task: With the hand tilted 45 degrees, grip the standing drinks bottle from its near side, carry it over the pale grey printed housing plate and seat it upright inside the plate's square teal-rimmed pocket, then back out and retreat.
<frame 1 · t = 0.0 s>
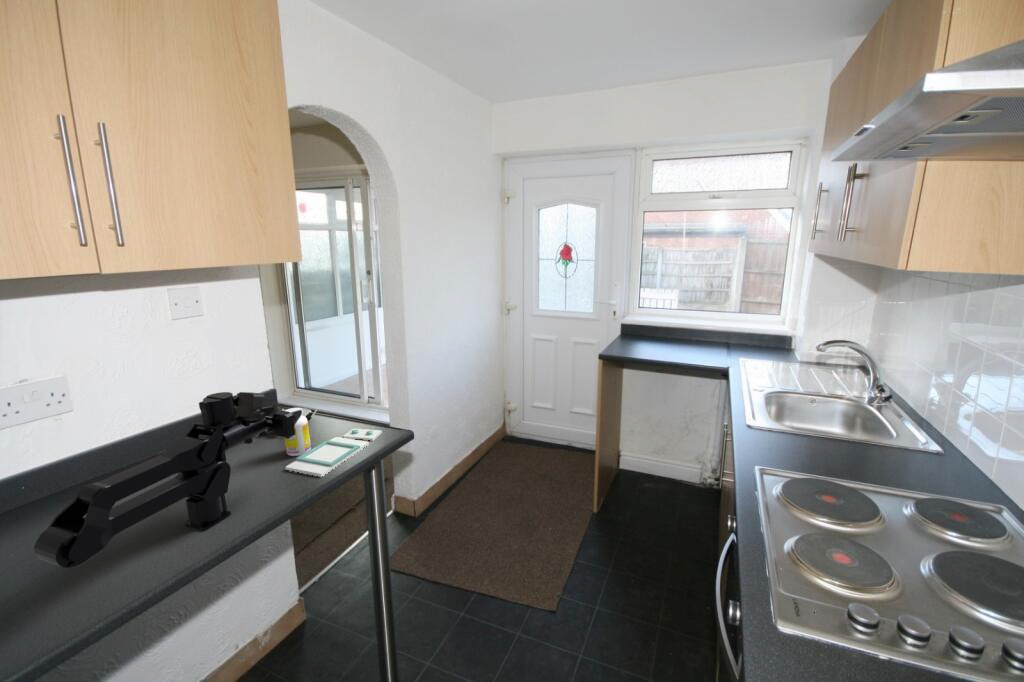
hand: (287, 409, 124), 17 cm above the counter, tool horizontal, fingers open, 9 cm apart
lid: (362, 435, 147), on the counter
housing: (329, 456, 133), on the counter
robot toy: (290, 428, 154), on the counter
supplement bottle: (299, 452, 137), on the counter
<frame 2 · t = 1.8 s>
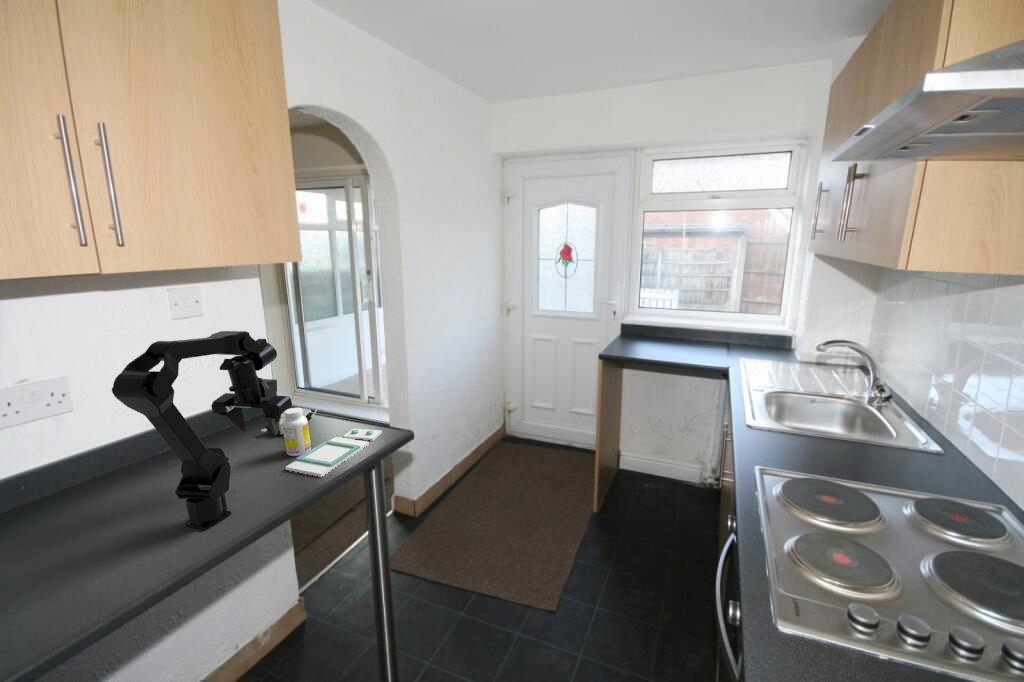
hand: (260, 432, 121), 12 cm above the counter, tool pointing down, fingers open, 9 cm apart
nothing on the counter moved.
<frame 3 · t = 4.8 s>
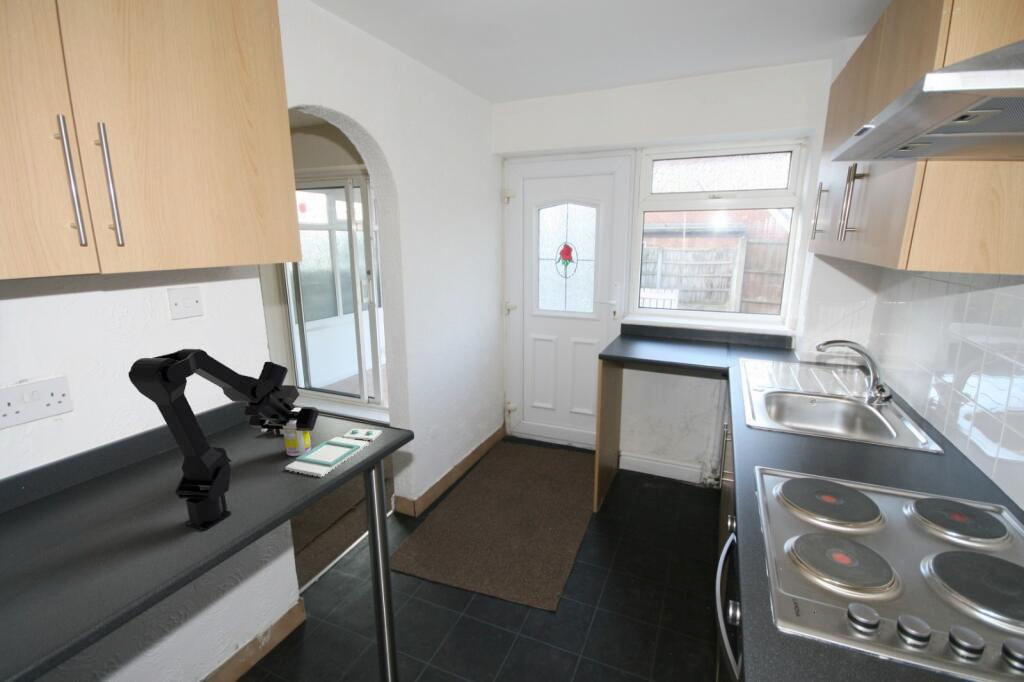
hand: (299, 428, 137), 7 cm above the counter, tool tilted 45°, fingers closed on supplement bottle, 7 cm apart
supplement bottle: (299, 452, 137), on the counter, touching gripper
everything else where it was.
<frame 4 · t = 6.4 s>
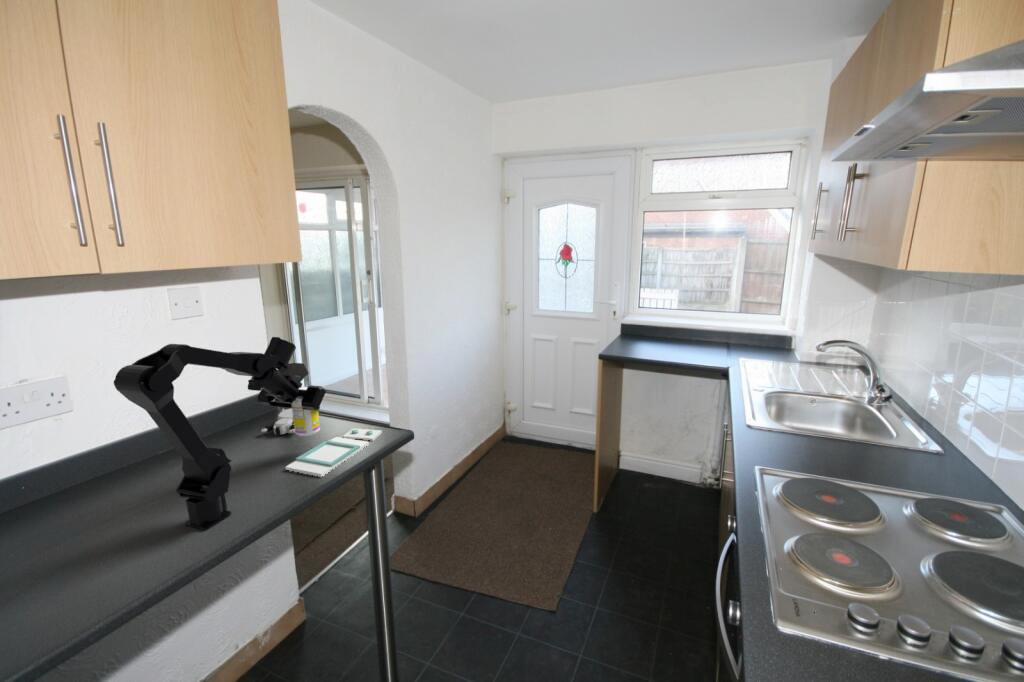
hand: (308, 408, 134), 13 cm above the counter, tool tilted 45°, fingers closed on supplement bottle, 7 cm apart
supplement bottle: (307, 432, 134), point 6 cm above the counter, touching gripper
everything else where it was.
when the fingers open (9 cm above the counter, at t = 8.3 s): supplement bottle stays where it is, resting on housing.
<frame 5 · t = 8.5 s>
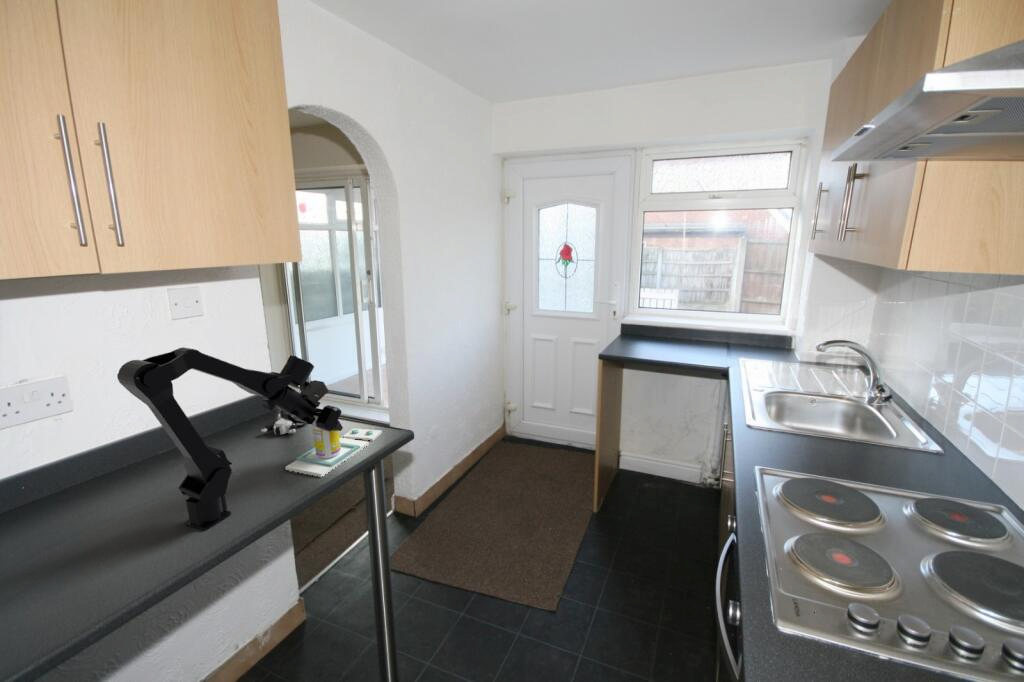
hand: (330, 426, 132), 9 cm above the counter, tool tilted 45°, fingers open, 9 cm apart
supplement bottle: (328, 454, 133), point 1 cm above the counter, touching housing
everything else where it was.
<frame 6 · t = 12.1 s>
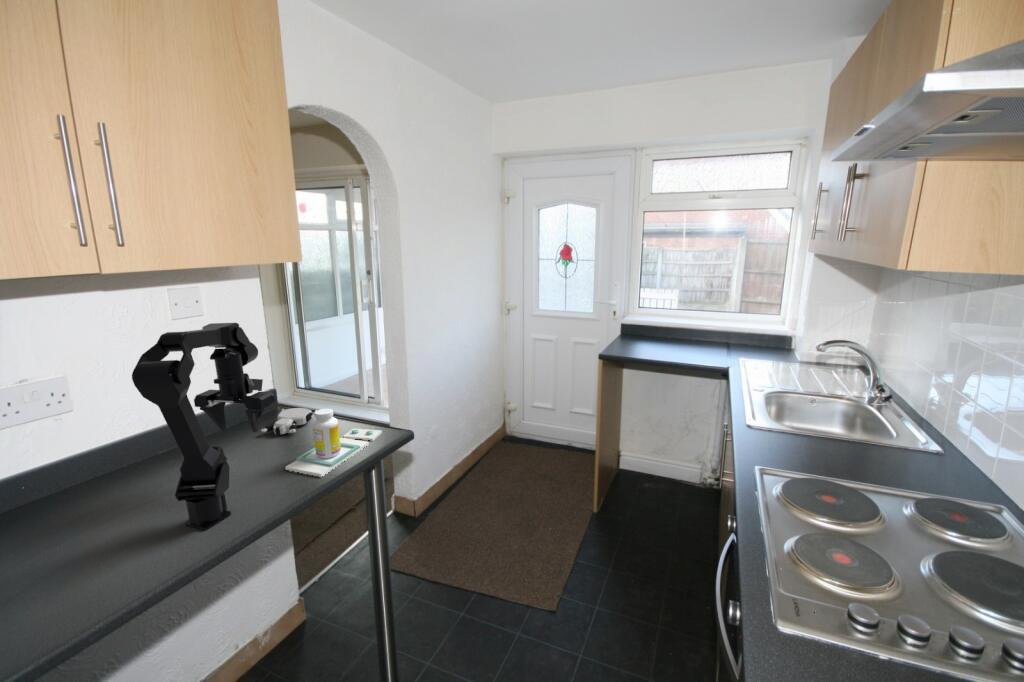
hand: (239, 431, 120), 13 cm above the counter, tool pointing down, fingers open, 9 cm apart
nothing on the counter moved.
at the end: supplement bottle 0.2 cm from the housing (horizontally); supplement bottle tilted 0°; the gripper is holding nothing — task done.
